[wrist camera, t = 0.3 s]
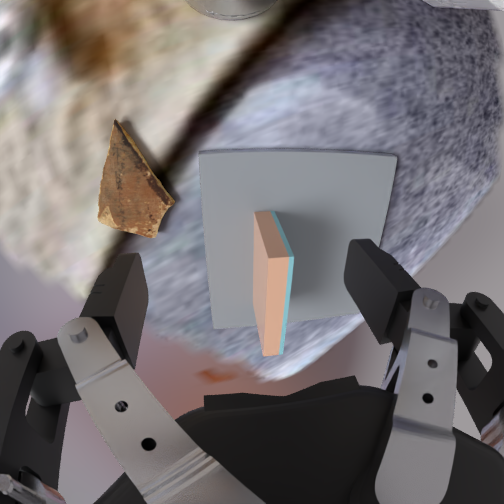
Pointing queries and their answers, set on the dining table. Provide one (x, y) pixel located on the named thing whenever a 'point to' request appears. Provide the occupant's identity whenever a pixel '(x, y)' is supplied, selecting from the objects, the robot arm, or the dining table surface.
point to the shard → (130, 189)
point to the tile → (271, 281)
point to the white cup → (468, 4)
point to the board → (290, 223)
